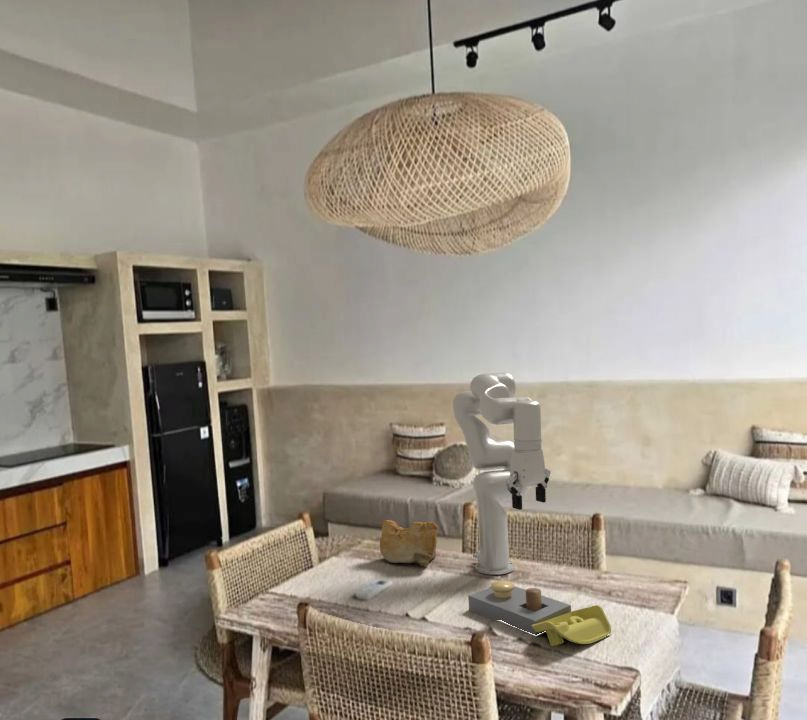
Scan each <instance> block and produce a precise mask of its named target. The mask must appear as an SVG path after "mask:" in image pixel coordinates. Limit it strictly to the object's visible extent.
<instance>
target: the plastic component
mask: <svg viewBox="0 0 807 720" xmlns="http://www.w3.org/2000/svg"><path fill="white" fill-rule="evenodd" d="M532 628H533V629H534V630H535V631H536V632H542V631H546V633H545V634H547V638H548V641H549V644H550V647H554V646H559V645H561V644H564V643H565V641H564V639H566V641H569V642H571V643H574V644H578V645H588V644H592V643H595V642H598V641H600V640H603V639H605V638H606V637H605V636H607V635H608V634H610V633H611V634H612V626H611V624H610V621H609V620H608V618H607V616H606V614H605V612H604V610H603V608H602V606H601V605H598V604H596V605H591V606H587V607H584V608H580V609H577V610H573V611H572V610H571V612H569V613H566V614H563V615H560V616H557V617H554V618H551V619H548V620H545V621H543V622H540V623H537V624H534V625H532ZM611 634H610V635H611ZM604 637H605V638H604Z"/></svg>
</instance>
